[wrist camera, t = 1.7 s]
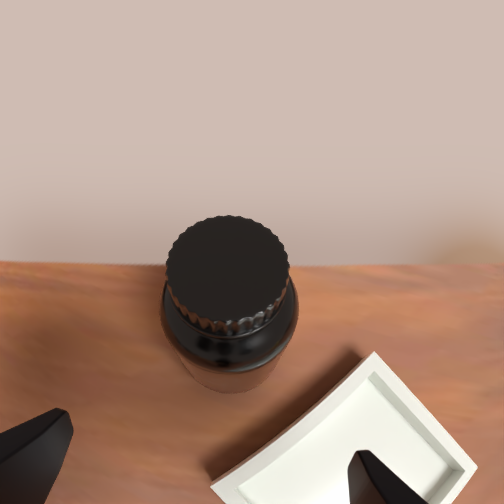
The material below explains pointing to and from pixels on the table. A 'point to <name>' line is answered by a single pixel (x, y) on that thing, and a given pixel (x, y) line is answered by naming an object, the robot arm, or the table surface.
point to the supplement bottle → (228, 302)
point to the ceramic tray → (352, 446)
